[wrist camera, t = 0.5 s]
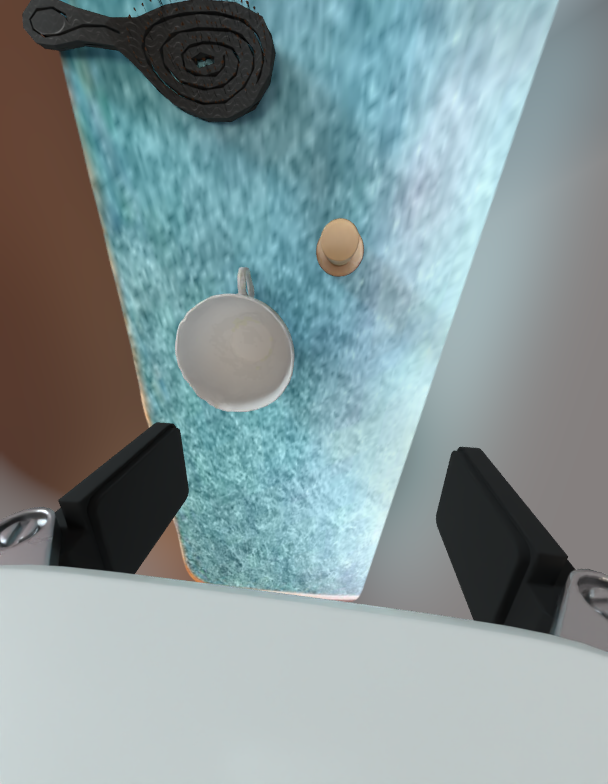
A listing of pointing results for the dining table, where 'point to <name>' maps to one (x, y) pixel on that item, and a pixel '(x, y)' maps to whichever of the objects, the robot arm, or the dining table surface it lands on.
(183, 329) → the teacup
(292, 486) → the dining table surface
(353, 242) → the dish brush
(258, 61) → the hairbrush
